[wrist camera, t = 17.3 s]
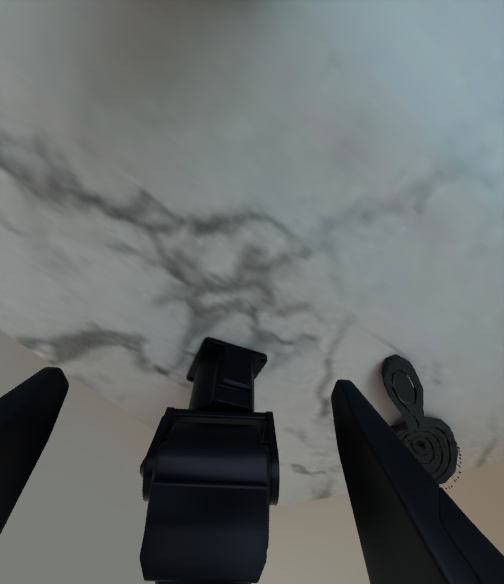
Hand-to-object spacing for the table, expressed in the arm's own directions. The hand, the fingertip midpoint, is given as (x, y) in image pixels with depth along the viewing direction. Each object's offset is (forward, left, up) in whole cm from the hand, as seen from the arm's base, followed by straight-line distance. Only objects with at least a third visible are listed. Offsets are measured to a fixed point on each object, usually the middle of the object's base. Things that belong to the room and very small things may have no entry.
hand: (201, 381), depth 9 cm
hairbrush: (-14, -29, -13) cm, 35 cm away
